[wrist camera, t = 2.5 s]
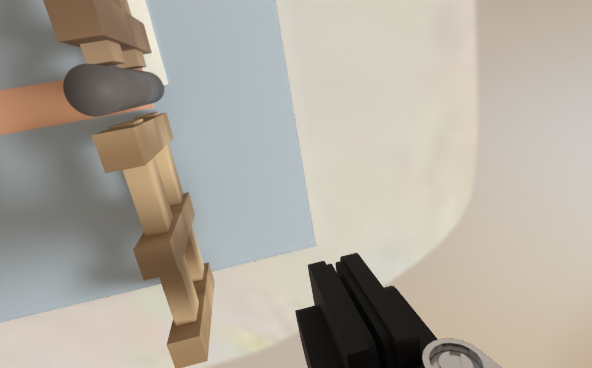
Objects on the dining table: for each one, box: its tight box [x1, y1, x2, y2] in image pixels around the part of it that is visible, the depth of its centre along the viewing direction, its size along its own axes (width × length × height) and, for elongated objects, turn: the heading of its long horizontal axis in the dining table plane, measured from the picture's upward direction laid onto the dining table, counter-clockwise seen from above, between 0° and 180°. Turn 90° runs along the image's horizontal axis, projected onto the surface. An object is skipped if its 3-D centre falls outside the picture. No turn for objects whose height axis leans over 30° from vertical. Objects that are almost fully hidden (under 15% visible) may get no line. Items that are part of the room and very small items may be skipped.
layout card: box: [0, 0, 316, 322], centre depth 15 cm, size 20×18×1 cm
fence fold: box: [92, 112, 214, 368], centre depth 14 cm, size 9×1×6 cm, turn 10°
